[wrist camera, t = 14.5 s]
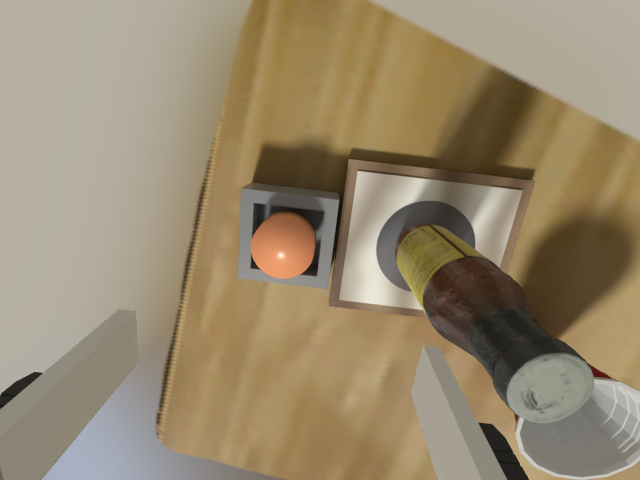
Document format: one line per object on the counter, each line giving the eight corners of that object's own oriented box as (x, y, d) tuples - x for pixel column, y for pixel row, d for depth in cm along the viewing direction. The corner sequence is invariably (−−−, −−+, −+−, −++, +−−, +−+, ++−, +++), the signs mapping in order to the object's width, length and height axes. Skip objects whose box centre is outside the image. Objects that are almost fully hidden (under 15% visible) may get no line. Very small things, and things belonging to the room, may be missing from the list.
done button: (319, 213, 32) (317, 222, 28) (313, 267, 33) (310, 282, 30) (261, 206, 32) (252, 215, 28) (257, 260, 33) (249, 274, 30)
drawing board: (529, 179, 33) (537, 181, 31) (486, 320, 38) (491, 326, 36) (348, 158, 33) (348, 159, 32) (329, 301, 38) (328, 307, 37)
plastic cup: (464, 311, 37) (522, 389, 26) (565, 300, 36) (671, 375, 25) (467, 389, 41) (519, 489, 29) (560, 380, 40) (651, 480, 28)
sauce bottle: (391, 277, 35) (459, 444, 16) (394, 220, 33) (474, 333, 14) (454, 277, 35) (598, 446, 16) (460, 219, 33) (632, 333, 14)
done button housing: (338, 192, 34) (339, 200, 30) (328, 273, 37) (327, 289, 33) (251, 182, 34) (241, 188, 30) (247, 263, 37) (237, 278, 33)
